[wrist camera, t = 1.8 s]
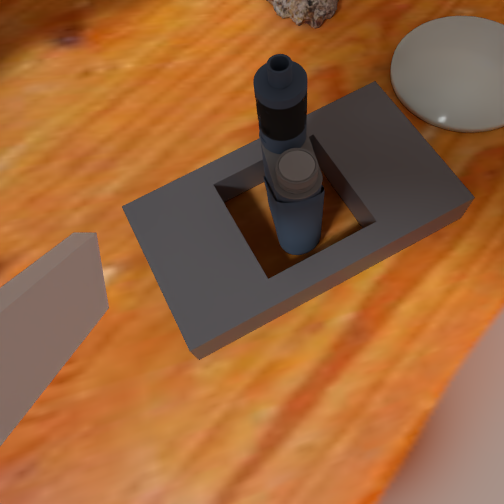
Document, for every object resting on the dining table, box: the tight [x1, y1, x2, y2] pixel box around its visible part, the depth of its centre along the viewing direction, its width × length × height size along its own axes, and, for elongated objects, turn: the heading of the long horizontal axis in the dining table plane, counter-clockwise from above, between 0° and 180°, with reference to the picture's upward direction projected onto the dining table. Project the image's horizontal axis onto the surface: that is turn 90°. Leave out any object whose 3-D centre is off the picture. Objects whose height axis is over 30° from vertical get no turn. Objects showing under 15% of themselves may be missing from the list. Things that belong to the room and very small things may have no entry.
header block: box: [122, 81, 475, 360], centre depth 29 cm, size 10×18×2 cm, turn 118°
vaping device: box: [254, 54, 324, 255], centre depth 25 cm, size 3×5×12 cm, turn 13°
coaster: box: [390, 16, 504, 133], centre depth 33 cm, size 10×10×1 cm
